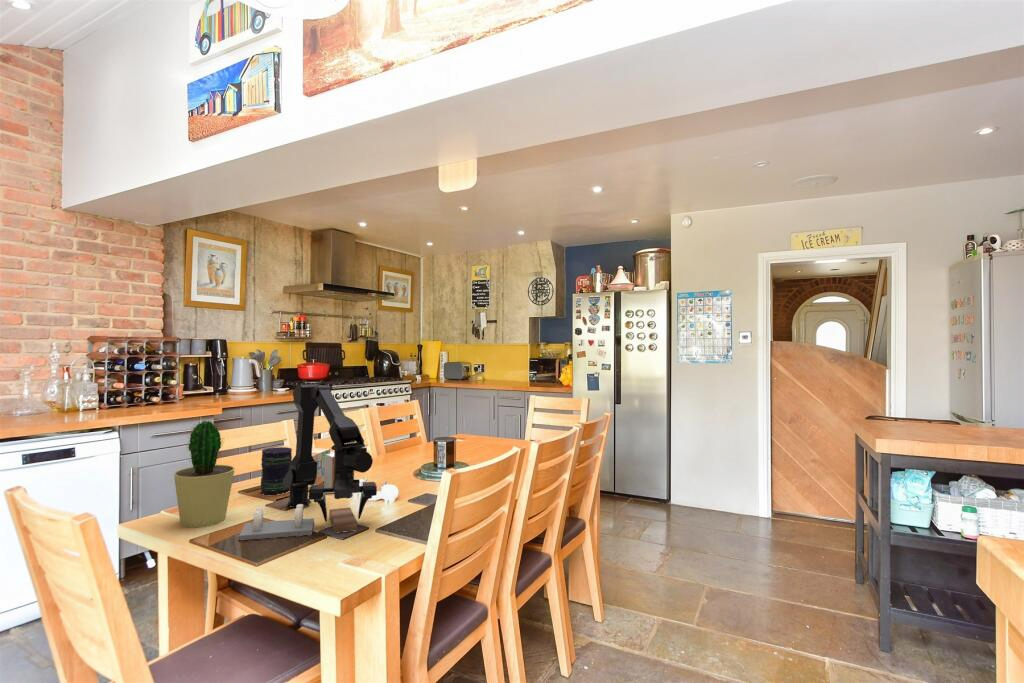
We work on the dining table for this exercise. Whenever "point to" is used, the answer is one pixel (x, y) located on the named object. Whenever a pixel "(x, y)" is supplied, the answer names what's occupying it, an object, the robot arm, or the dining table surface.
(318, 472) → the patterned carton
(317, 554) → the dining table surface
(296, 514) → the grey base with posts
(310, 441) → the robot arm
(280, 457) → the storage jar
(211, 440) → the potted cactus
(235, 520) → the dining table surface
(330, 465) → the small box
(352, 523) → the shelf board
